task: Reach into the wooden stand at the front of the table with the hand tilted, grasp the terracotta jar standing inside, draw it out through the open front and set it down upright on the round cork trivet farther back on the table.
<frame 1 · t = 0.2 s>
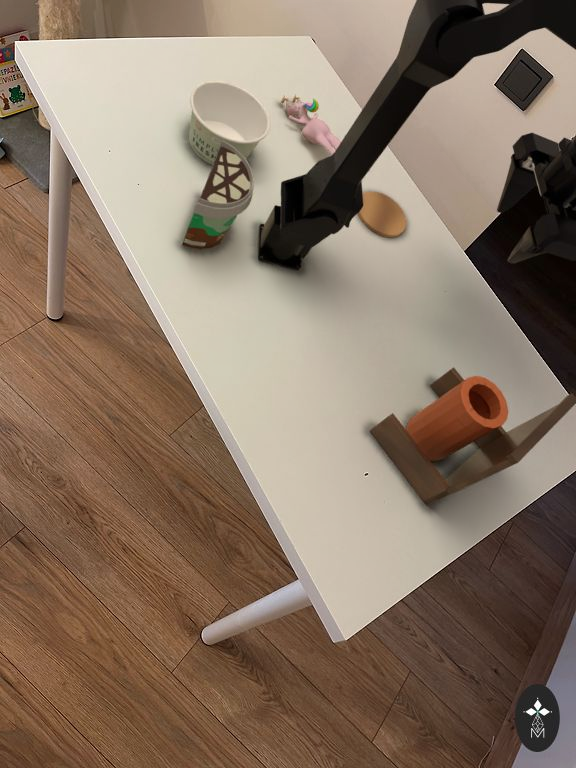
hand: (505, 236, 83), 15 cm above the table, tool pointing down, fingers open, 9 cm apart
food container 2: (218, 146, 91), on the table
trivet: (380, 215, 98), on the table
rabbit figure: (307, 136, 100), on the table
jar: (427, 437, 81), on the table
wooden stand: (427, 437, 81), on the table
food container: (211, 231, 83), on the table
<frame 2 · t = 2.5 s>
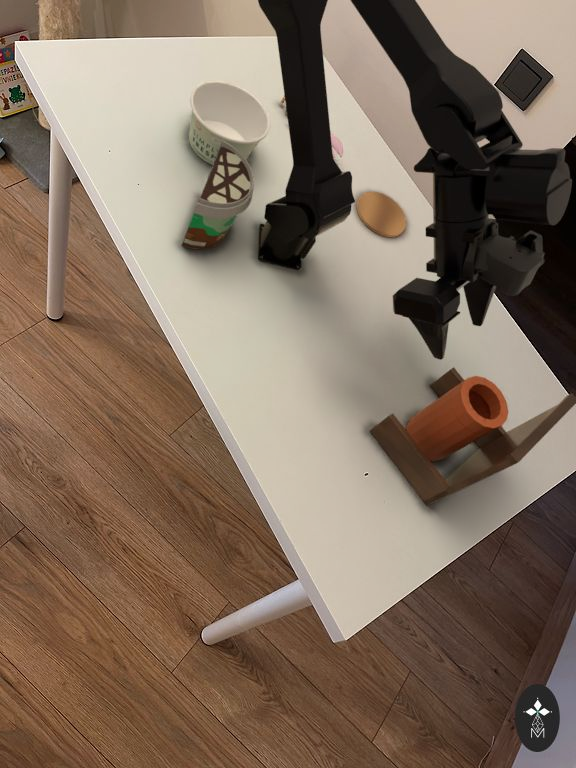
hand: (458, 341, 72), 13 cm above the table, tool tilted 40°, fingers open, 9 cm apart
nothing on the table moved.
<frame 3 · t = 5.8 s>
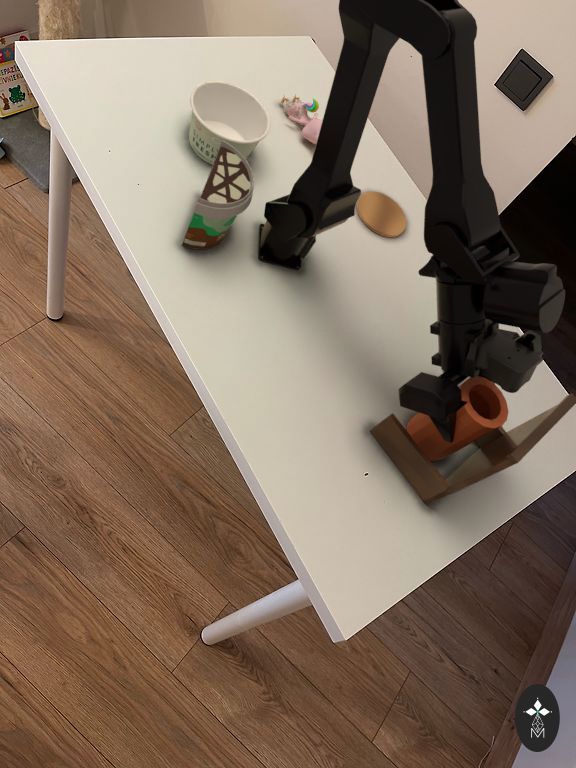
hand: (464, 427, 76), 7 cm above the table, tool tilted 45°, fingers closed on jar, 7 cm apart
jar: (427, 437, 81), on the table, touching gripper
everything else where it was.
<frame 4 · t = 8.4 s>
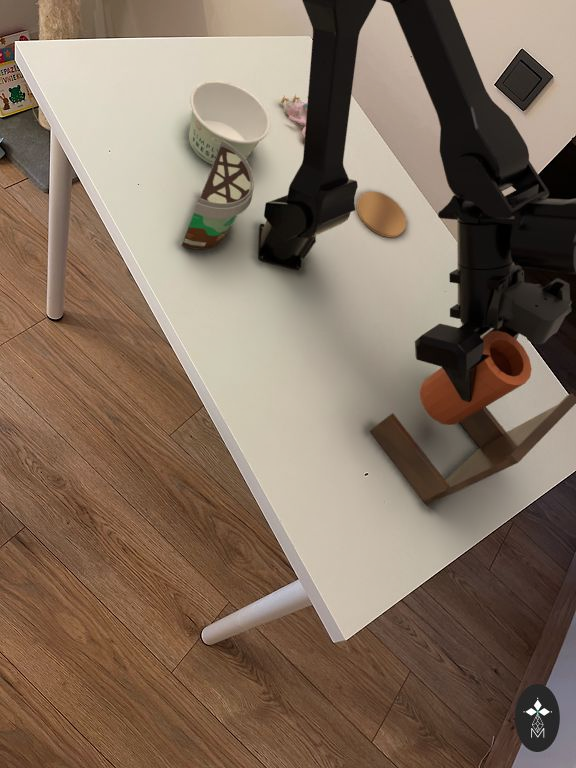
hand: (482, 387, 71), 13 cm above the table, tool tilted 45°, fingers closed on jar, 7 cm apart
jar: (442, 400, 76), point 7 cm above the table, touching gripper
everything else where it was.
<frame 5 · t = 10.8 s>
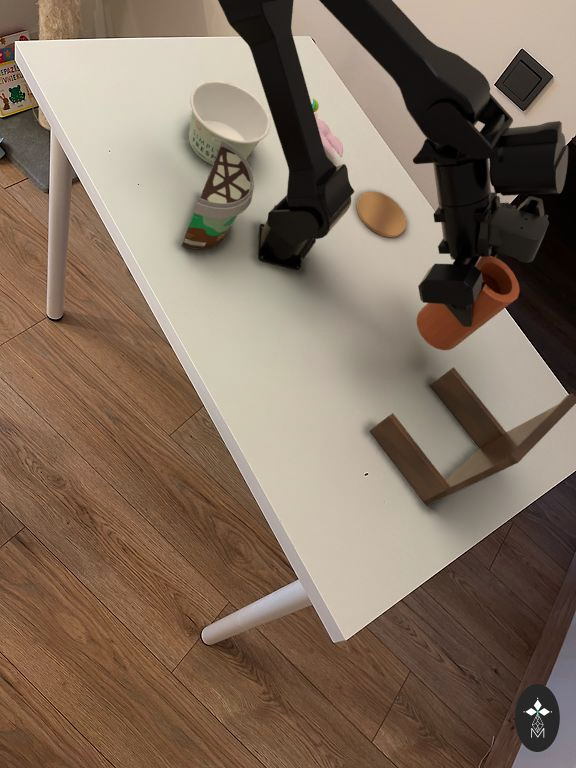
hand: (476, 309, 76), 13 cm above the table, tool tilted 45°, fingers closed on jar, 7 cm apart
jar: (437, 328, 81), point 7 cm above the table, touching gripper
everything else where it was.
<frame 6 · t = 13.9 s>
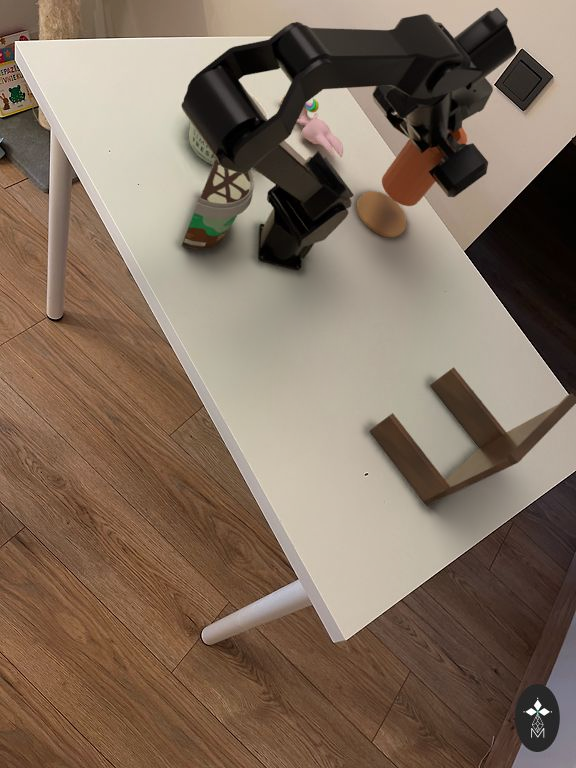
hand: (430, 156, 88), 13 cm above the table, tool tilted 45°, fingers closed on jar, 7 cm apart
jar: (400, 189, 93), point 6 cm above the table, touching gripper
everything else where it was.
when the fingers open (7 cm above the table, at t = 16.1 s): jar stays where it is, resting on trivet.
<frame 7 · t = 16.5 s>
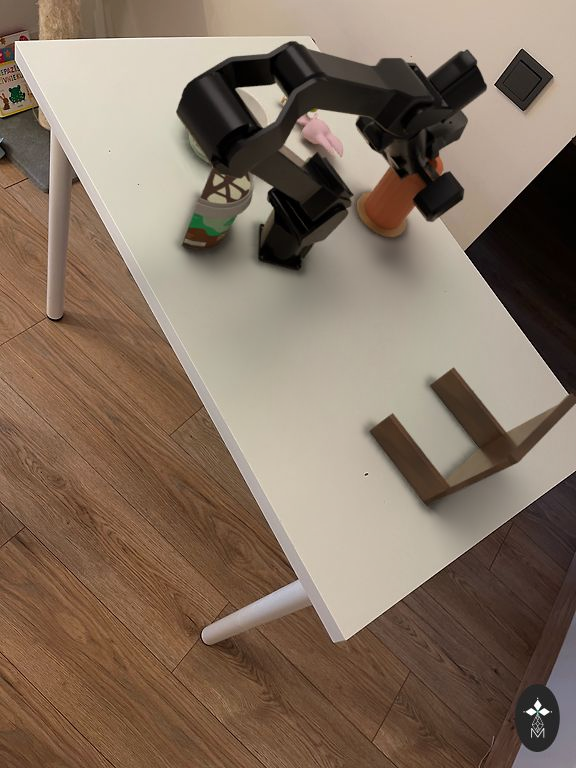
hand: (412, 180, 93), 8 cm above the table, tool tilted 45°, fingers open, 9 cm apart
jar: (382, 212, 98), point 1 cm above the table, touching trivet
everything else where it was.
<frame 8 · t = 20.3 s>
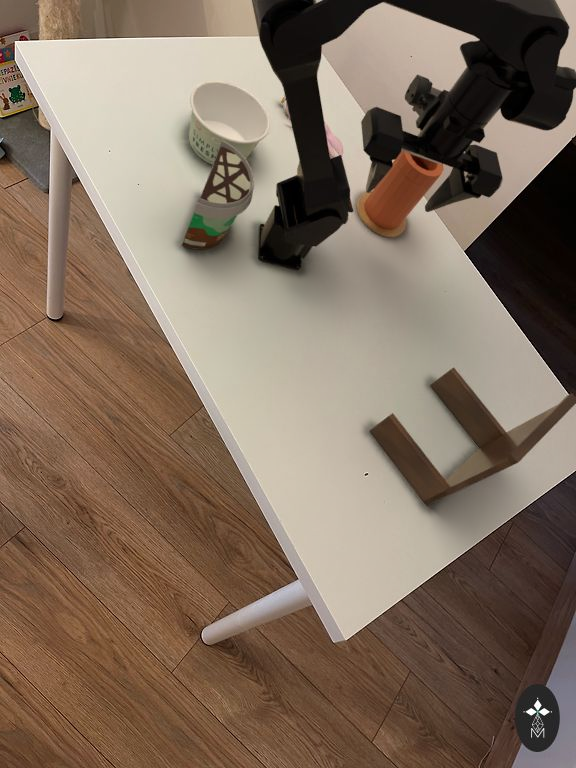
hand: (397, 199, 80), 13 cm above the table, tool pointing down, fingers open, 9 cm apart
nothing on the table moved.
at the end: jar 0.0 cm off-centre on the trivet, point 0.6 cm above the trivet's base; jar tilted 0°; jar touching trivet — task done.
